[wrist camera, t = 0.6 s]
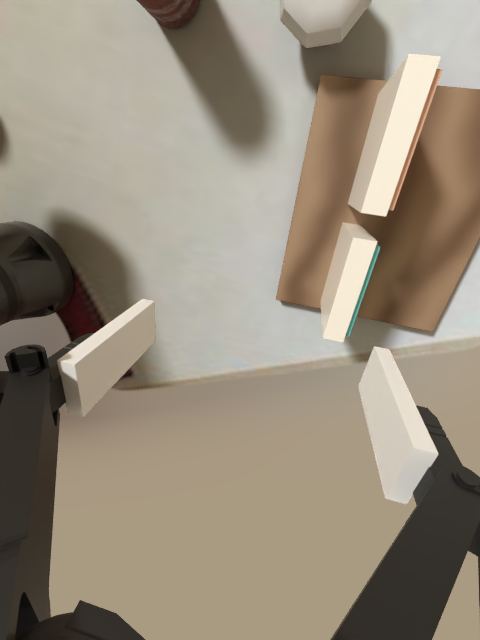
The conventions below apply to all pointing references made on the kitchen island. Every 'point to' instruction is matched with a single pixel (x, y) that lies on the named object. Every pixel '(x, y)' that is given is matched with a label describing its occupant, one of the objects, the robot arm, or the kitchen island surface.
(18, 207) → the kitchen island surface
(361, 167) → the tile cream
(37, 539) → the robot arm
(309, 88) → the kitchen island surface
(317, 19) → the apple
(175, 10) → the can
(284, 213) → the kitchen island surface
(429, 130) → the board
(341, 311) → the square block
